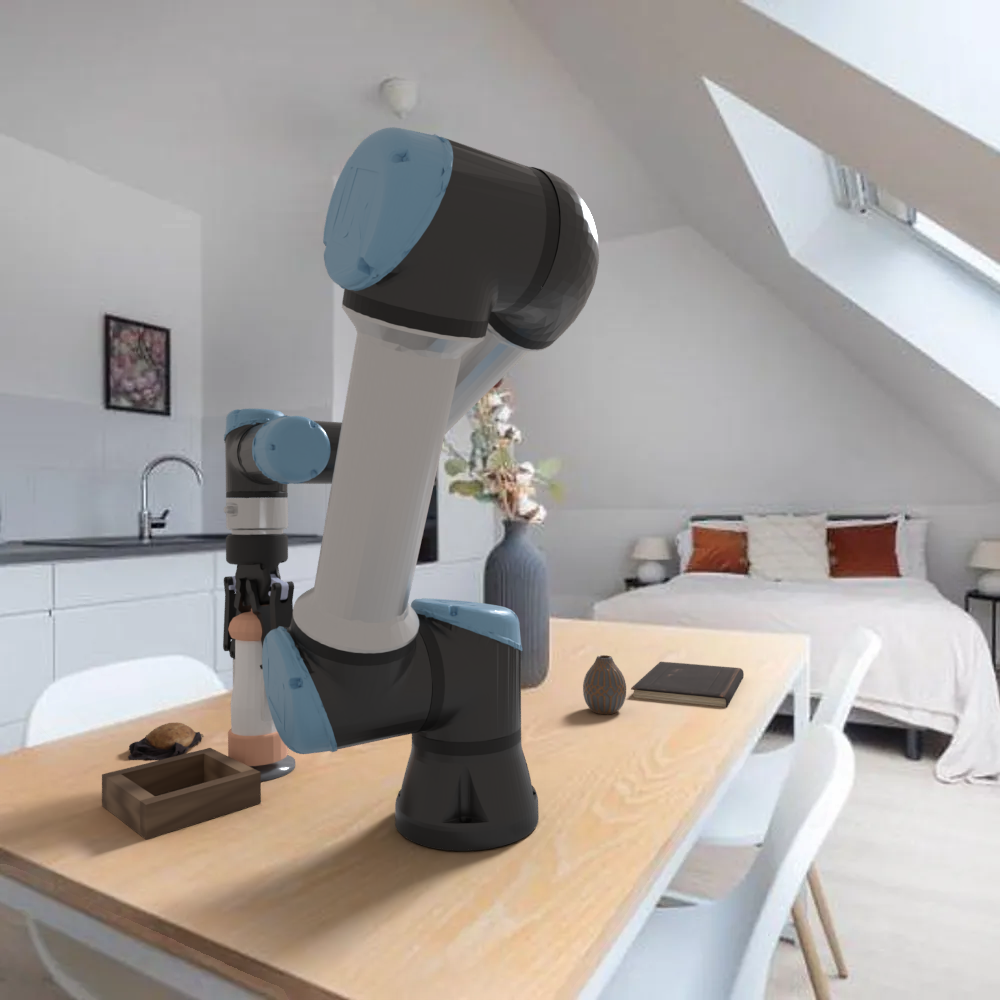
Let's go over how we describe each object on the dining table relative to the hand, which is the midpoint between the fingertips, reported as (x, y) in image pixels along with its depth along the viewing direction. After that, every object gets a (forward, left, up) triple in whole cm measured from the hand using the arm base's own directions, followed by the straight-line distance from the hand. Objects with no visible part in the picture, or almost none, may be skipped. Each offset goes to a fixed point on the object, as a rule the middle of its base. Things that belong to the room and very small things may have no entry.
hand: (258, 713), depth 95 cm
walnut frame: (-4, +12, -7) cm, 14 cm away
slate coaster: (0, 0, -7) cm, 7 cm away
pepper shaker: (0, 0, -6) cm, 6 cm away
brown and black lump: (+18, +4, -8) cm, 20 cm away
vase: (-17, -51, -7) cm, 55 cm away
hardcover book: (-19, -75, -8) cm, 78 cm away
